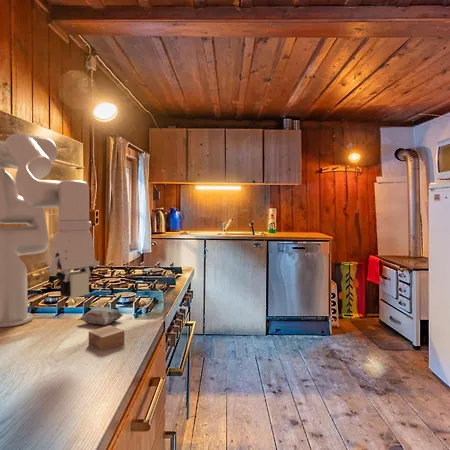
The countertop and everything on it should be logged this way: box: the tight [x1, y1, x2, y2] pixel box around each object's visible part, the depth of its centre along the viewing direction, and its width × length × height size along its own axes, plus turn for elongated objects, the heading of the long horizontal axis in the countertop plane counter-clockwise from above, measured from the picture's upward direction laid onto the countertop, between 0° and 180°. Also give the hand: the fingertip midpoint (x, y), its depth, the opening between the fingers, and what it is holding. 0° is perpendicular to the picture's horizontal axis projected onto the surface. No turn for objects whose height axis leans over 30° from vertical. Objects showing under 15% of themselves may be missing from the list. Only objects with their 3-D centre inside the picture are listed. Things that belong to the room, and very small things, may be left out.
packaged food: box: [77, 306, 124, 326], centre depth 116 cm, size 9×12×5 cm
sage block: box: [60, 270, 90, 299], centre depth 93 cm, size 5×5×6 cm
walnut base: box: [88, 324, 125, 352], centre depth 98 cm, size 7×7×4 cm
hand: (75, 292), depth 93 cm, fingers closed on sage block, 5 cm apart
